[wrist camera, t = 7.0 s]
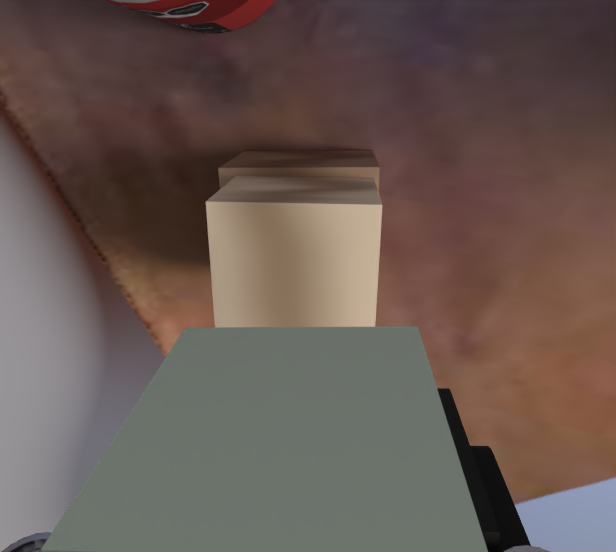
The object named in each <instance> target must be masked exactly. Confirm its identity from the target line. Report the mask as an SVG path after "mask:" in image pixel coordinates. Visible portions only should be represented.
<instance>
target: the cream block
mask: <svg viewBox="0 0 616 552" xmlns="http://www.w3.org/2000/svg"><path fill="white" fill-rule="evenodd" d="M218 173H219V185H220V189H221V188H222V187H224V186H225V185H226V184H227V183H228V182H230V181H231V180H232V179H233V178H234V177H235V176H264V177H327V178H374V180H375V183H376V186H377V189H378V193H379V174H380V167H379V164H378V162H377V160H376V157H375V155H374V153H373V151H372V150H313V151H243V152H242V153H240V154H239V155H237V156H236V157H234V158H232V159H231V160H229V161H228V162H226V163H225V164H223V165H222V166H220V167H219V168H218Z"/></svg>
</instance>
